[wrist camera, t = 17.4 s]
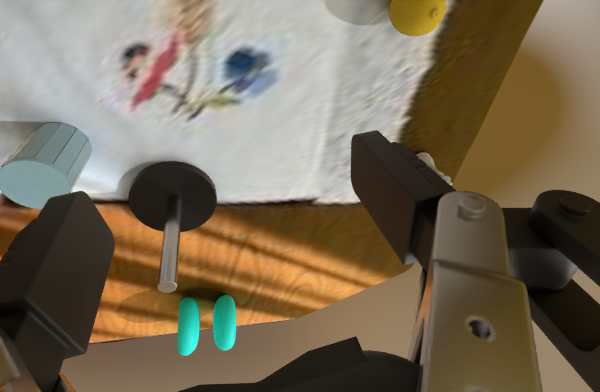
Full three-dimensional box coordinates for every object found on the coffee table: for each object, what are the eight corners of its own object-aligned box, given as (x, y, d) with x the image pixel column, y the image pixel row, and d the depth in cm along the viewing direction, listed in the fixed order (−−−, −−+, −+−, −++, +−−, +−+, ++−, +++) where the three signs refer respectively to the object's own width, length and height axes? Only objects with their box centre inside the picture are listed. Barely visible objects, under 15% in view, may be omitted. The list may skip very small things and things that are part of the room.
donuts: (228, 314, 68) (232, 360, 60) (178, 318, 65) (176, 367, 57) (233, 283, 63) (239, 329, 55) (179, 286, 59) (177, 336, 52)
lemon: (386, 38, 42) (419, 52, 36) (372, -5, 38) (406, 3, 32) (423, 13, 41) (463, 23, 35) (413, -33, 38) (455, -30, 31)
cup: (27, 155, 39) (-9, 198, 32) (39, 113, 37) (2, 150, 30) (83, 172, 42) (61, 215, 35) (97, 135, 40) (76, 174, 33)
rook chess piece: (430, 166, 57) (458, 191, 51) (407, 176, 58) (433, 203, 51) (427, 146, 55) (457, 171, 48) (404, 158, 55) (430, 184, 49)
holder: (118, 212, 47) (88, 312, 34) (148, 148, 42) (126, 234, 29) (196, 234, 53) (196, 325, 40) (229, 179, 48) (242, 263, 35)
